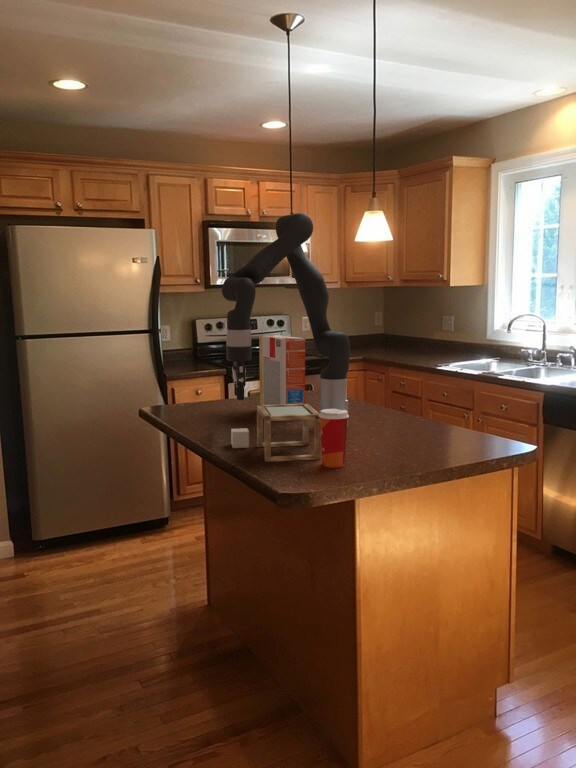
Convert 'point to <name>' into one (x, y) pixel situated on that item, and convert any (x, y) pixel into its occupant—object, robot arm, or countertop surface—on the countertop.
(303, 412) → the trapdoor
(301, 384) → the cereal box
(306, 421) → the frame
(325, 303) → the robot arm
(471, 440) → the countertop surface
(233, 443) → the white cube
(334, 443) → the coffee cup
